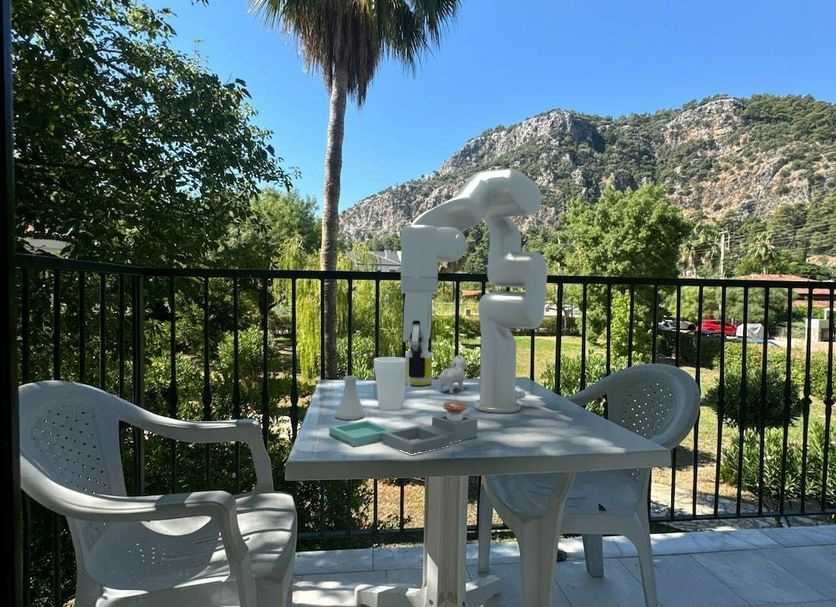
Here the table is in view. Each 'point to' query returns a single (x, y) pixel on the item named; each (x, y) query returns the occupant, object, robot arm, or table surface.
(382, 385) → the foam cup
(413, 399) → the table surface
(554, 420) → the table surface
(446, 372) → the dog figurine
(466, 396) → the table surface
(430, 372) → the supplement bottle
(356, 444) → the tray
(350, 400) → the flask
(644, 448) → the table surface
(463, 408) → the plunger
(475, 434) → the housing
